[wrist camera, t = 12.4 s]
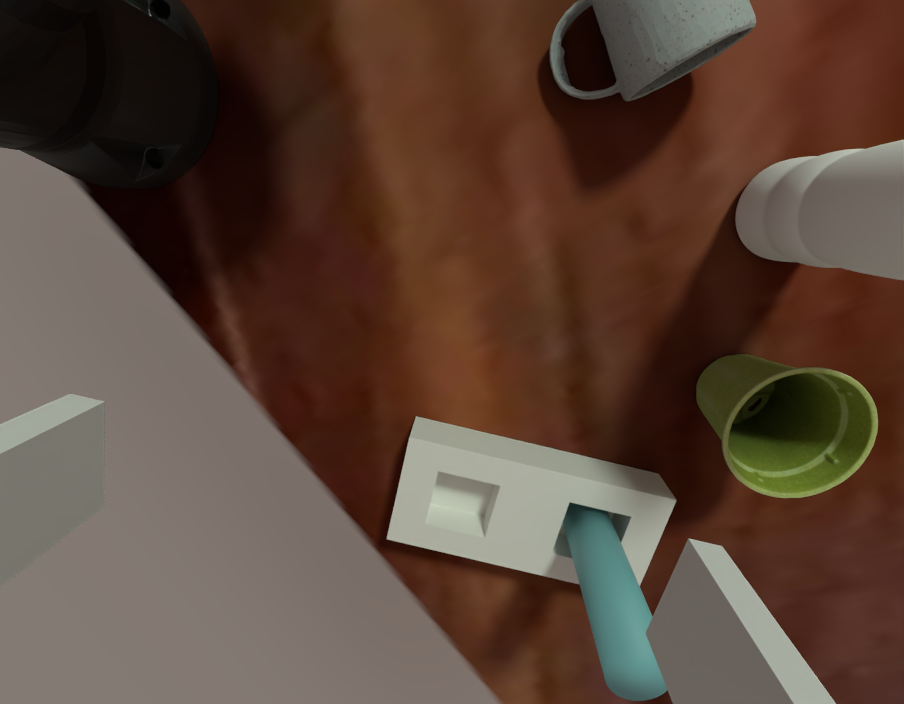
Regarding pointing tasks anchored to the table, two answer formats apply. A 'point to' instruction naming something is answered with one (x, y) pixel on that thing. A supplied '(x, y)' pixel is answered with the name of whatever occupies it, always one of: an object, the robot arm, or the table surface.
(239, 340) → the table surface
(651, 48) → the ceramic mug
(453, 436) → the hole block
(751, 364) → the plant pot
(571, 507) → the teal pin
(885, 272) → the water bottle
